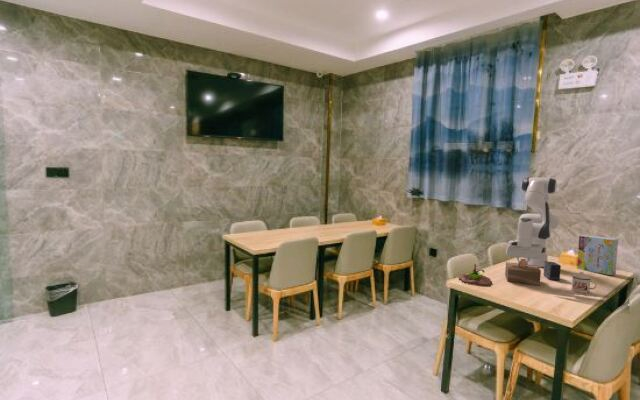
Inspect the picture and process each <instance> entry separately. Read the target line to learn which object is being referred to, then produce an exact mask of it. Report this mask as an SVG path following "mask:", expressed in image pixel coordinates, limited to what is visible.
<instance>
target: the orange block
mask: <svg viewBox="0 0 640 400" xmlns="http://www.w3.org/2000/svg"><path fill="white" fill-rule="evenodd" d="M519 261H521V264H520V267H525V268H526V260H525V259H524V258H523V257H519Z"/></svg>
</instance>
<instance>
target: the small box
mask: <svg viewBox="0 0 640 400" xmlns="http://www.w3.org/2000/svg"><path fill="white" fill-rule="evenodd" d="M561 267H562V266H561V264H559V263H557V262H555V261H549V260H548V261H545V262H544V267H543V275H544V277H545V278H547V280H548V281H560V279H561Z"/></svg>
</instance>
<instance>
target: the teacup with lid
mask: <svg viewBox="0 0 640 400" xmlns="http://www.w3.org/2000/svg"><path fill="white" fill-rule="evenodd" d="M571 277H572V278H571V279H572V281H571V284H572V285H571V290H572V292H576V293H578V294H590V290H595V289H596V288H597V286H598V284H597V282H595V281H594V280H591V279H592V277H591V276H588V275H587V274H585V272H583V271H580V272H579V273H574V274H573V275H572V276H571ZM591 283H593V284H594V285H595V286H594V287H591Z"/></svg>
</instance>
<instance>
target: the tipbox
mask: <svg viewBox="0 0 640 400" xmlns="http://www.w3.org/2000/svg"><path fill="white" fill-rule="evenodd" d="M541 271H542V269H540V268H539V267H538V266H537V265H530V264H528V265H526V268H525V267H520V264H518V262H509V261H505V272H504V274H505V275H504V277H505V279H506V282H509V283H513V284H514V283H515V284H521V285H527V286H529V285H530V286H535V287H537V286H538V287H540V286H541V275H542V273H541Z"/></svg>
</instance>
